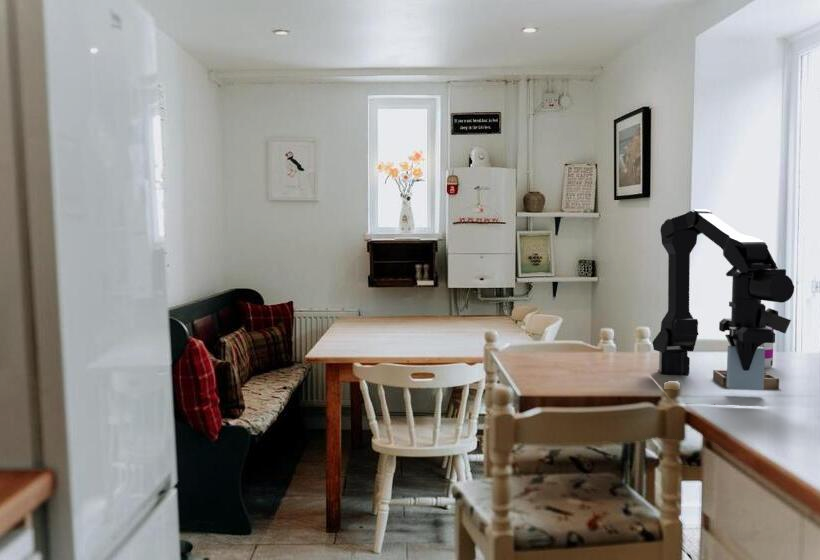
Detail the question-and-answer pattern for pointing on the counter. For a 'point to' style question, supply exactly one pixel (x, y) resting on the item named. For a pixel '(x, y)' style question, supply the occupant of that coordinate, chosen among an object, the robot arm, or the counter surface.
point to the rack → (769, 380)
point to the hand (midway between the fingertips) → (744, 369)
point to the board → (745, 378)
